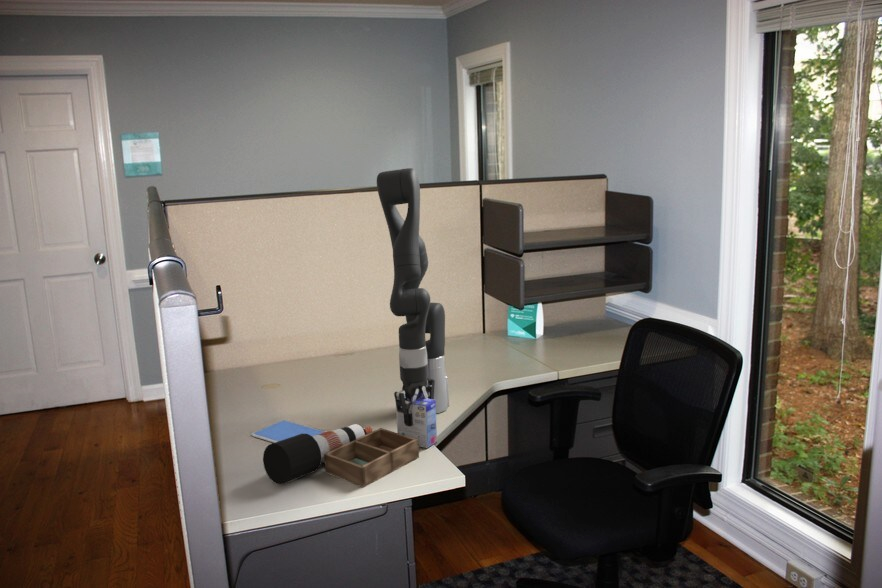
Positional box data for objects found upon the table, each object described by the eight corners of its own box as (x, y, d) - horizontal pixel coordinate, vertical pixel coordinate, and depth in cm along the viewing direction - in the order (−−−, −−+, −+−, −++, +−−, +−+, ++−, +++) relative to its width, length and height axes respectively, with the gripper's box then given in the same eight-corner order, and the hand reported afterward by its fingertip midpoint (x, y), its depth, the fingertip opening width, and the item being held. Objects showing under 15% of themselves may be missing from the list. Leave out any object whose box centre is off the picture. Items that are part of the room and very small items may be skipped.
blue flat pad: (250, 437, 208) (250, 433, 208) (284, 422, 218) (283, 418, 218) (296, 452, 197) (296, 447, 197) (329, 436, 207) (329, 431, 206)
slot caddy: (381, 445, 197) (380, 427, 196) (419, 457, 189) (418, 439, 188) (325, 472, 183) (324, 454, 182) (363, 487, 174) (362, 468, 173)
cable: (375, 455, 202) (388, 427, 198) (283, 492, 175) (295, 461, 171) (352, 432, 207) (364, 405, 203) (258, 466, 180) (270, 435, 176)
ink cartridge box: (438, 441, 198) (436, 391, 195) (428, 449, 193) (425, 397, 190) (407, 435, 203) (404, 386, 200) (397, 443, 198) (393, 393, 195)
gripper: (420, 353, 201) (423, 410, 205) (384, 367, 190) (388, 427, 194) (441, 357, 196) (444, 416, 200) (405, 372, 186) (409, 433, 189)
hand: (416, 421), depth 197 cm, fingers closed on ink cartridge box, 6 cm apart
